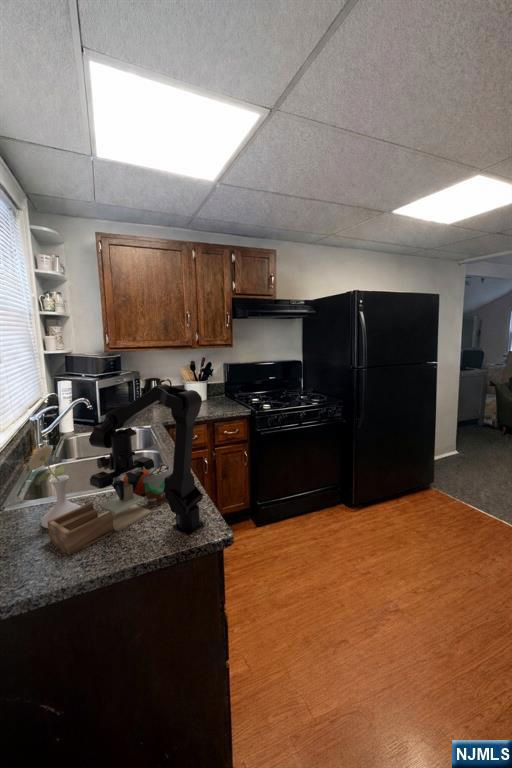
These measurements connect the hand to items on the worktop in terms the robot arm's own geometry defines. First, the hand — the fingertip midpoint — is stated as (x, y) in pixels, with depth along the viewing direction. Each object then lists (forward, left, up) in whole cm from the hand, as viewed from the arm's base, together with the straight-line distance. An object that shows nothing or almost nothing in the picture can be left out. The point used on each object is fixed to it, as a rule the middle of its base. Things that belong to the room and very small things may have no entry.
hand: (126, 497), depth 99 cm
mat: (0, +2, -5) cm, 6 cm away
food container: (-1, -13, -6) cm, 14 cm away
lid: (0, +2, -1) cm, 2 cm away
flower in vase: (+13, +14, -6) cm, 20 cm away
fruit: (+10, -11, -6) cm, 16 cm away
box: (0, +14, -5) cm, 15 cm away
